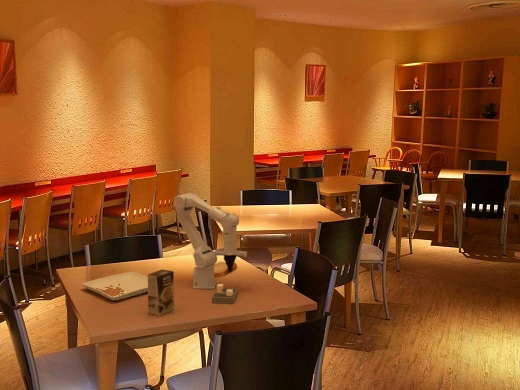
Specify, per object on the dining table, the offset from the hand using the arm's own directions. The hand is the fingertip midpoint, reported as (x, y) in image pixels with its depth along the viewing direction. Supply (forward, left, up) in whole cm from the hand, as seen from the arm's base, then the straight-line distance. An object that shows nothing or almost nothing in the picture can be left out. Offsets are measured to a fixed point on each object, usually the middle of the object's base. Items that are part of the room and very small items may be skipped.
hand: (230, 271), depth 263 cm
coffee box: (-24, -29, -9) cm, 38 cm away
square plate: (-48, -3, -9) cm, 49 cm away
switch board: (-1, -11, -9) cm, 14 cm away
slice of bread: (-8, +31, -9) cm, 33 cm away
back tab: (-3, -7, -6) cm, 10 cm away
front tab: (+2, -14, -6) cm, 15 cm away
